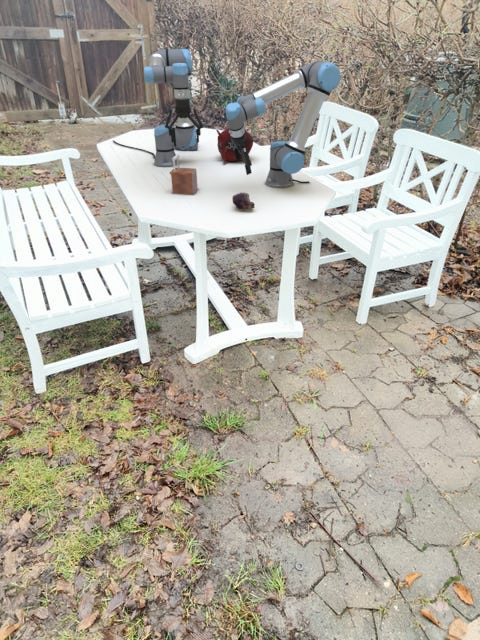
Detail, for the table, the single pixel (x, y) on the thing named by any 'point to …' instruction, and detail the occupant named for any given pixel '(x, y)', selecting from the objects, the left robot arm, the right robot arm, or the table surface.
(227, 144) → the decorative skull
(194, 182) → the chest
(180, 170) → the lid
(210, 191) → the table surface
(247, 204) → the rock
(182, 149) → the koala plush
